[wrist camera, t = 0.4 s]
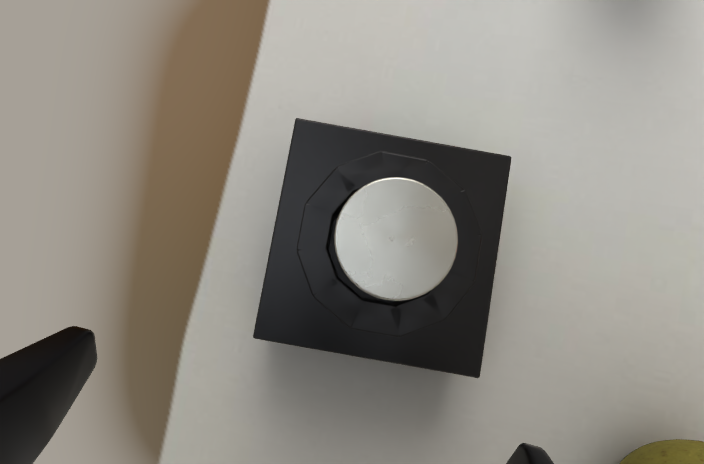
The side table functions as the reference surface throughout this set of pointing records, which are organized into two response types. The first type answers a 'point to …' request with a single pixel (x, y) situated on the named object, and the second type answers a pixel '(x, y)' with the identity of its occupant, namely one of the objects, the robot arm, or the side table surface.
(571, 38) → the side table surface
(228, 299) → the side table surface
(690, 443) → the apple
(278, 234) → the hob block
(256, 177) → the side table surface
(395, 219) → the hob knob
